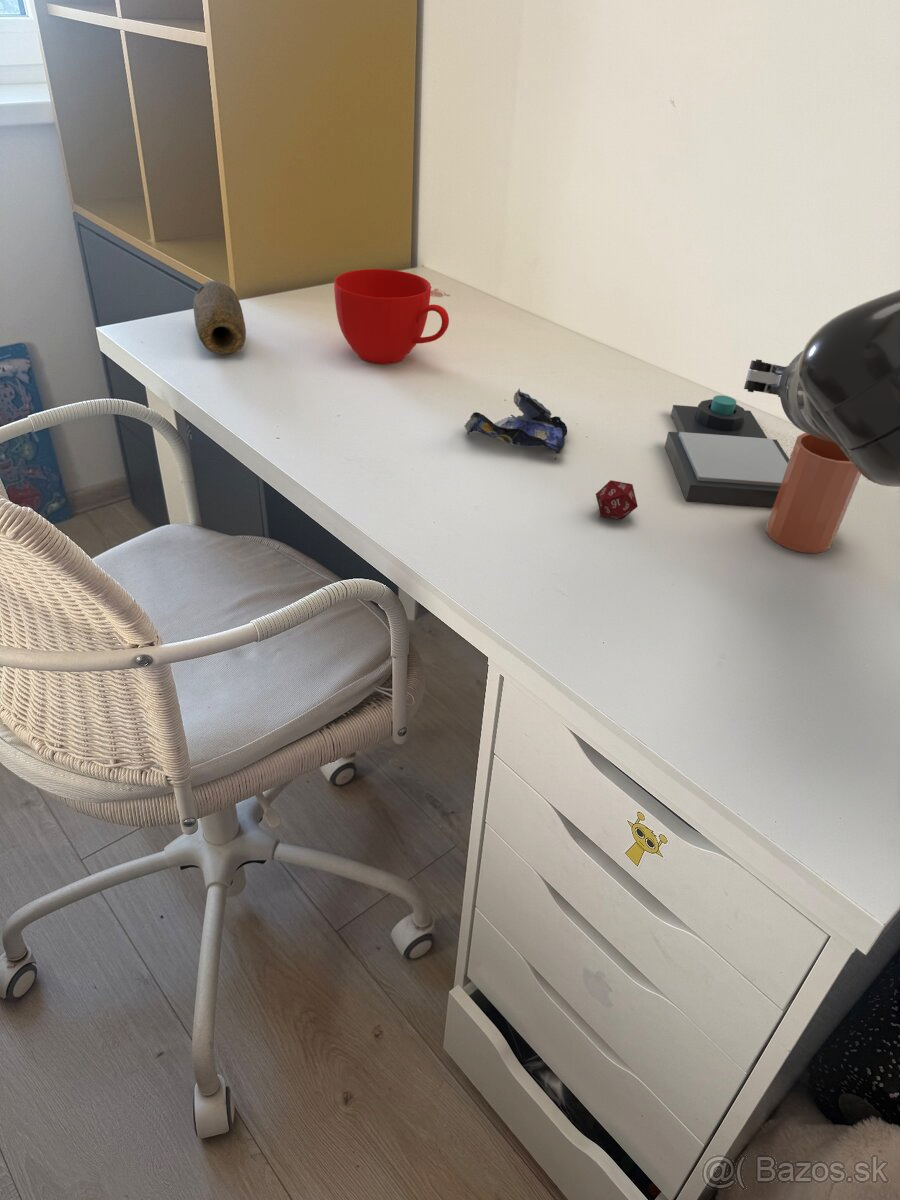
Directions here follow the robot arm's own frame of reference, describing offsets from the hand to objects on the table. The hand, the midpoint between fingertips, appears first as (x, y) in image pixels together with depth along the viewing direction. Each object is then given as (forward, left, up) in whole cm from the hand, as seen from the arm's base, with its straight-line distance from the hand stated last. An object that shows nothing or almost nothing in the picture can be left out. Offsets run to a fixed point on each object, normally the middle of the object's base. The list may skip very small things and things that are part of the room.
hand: (807, 386), depth 78 cm
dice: (+16, +1, -15) cm, 22 cm away
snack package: (+25, -15, -15) cm, 32 cm away
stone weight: (+66, -39, -15) cm, 79 cm away
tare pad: (0, -22, -15) cm, 26 cm away
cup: (-3, +2, -15) cm, 15 cm away
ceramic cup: (+42, -38, -15) cm, 58 cm away
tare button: (0, -22, -12) cm, 25 cm away
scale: (+1, -10, -15) cm, 18 cm away
